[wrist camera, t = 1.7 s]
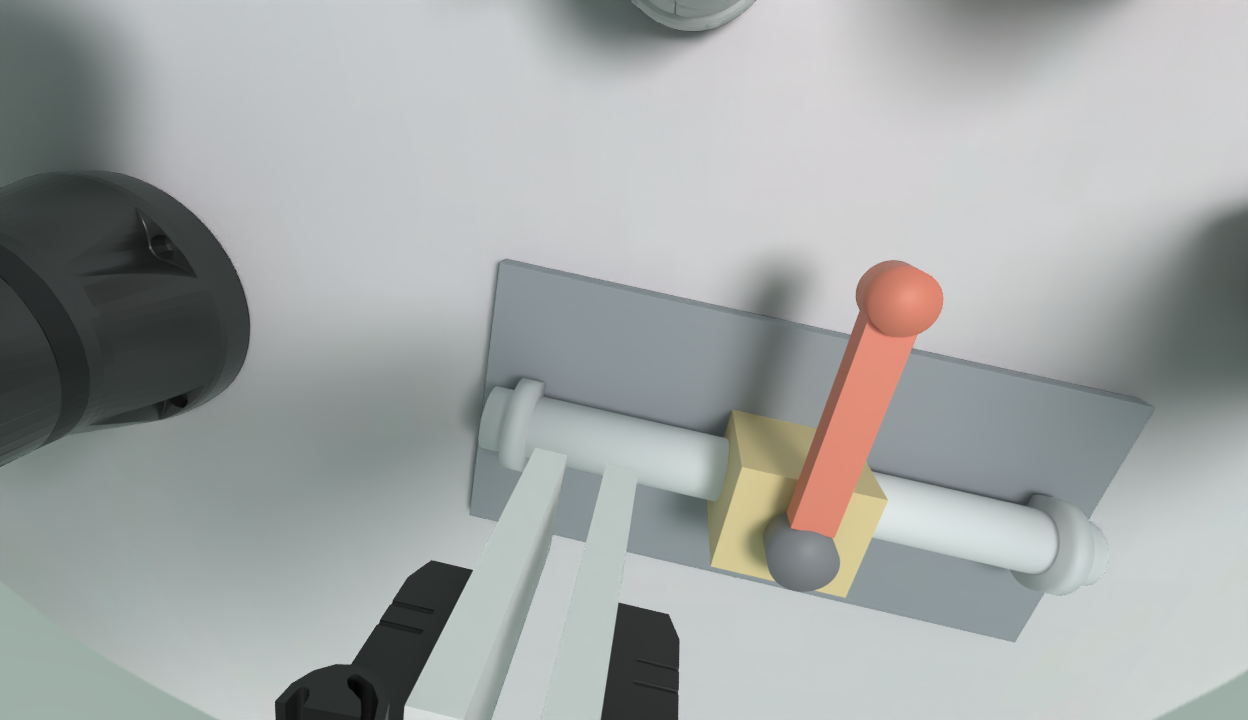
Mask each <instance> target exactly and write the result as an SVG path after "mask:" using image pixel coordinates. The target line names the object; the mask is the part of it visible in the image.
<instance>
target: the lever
mask: <svg viewBox="0 0 1248 720" xmlns="http://www.w3.org/2000/svg"><path fill="white" fill-rule="evenodd" d="M856 302H857V305H858V307H859V309H860V312H859V314H858V317H857V320H856V323H855V325H854V328H853V331H852V334H851V336H850V339H849V342H848V345H847V347H846V350H845V353H844V356H843V358H842V361H841V364H840V367H839V369H838V372H837V375H836V378H835V380H834V383H833V386H832V389H831V391H830V394H829V397H828V400H827V402H826V405H825V408H824V411H823V414H822V416H821V419H820V422H819V425H818V427H817V430H816V433H815V436H814V438H813V441H812V444H811V447H810V449H809V452H808V455H807V458H806V460H805V463H804V466H803V469H802V471H801V474H800V477H799V480H798V482H797V485H796V488H795V491H794V493H793V496H792V499H791V502H790V504H789V507H788V510H787V512H786V513H783V514H780V515H778V516H777V517H775V518H774V519H773V520H771V521H770V523H769V524H768V525H767V527H766V528H765V531H764V534H763V543H764V548H765V554H766V559H767V564H768V569H769V572H770V574H771V576H772V578H773V579H774V580H775V581H776V582H777V583H778V584H779V585H781V586H783V587H784V588H787V589H789V590H793V591H798V592H808V591H814V590H817V589H820V588H822V587H824V586H826V585H828V584H829V583H830V582H831V581H832V580H833V579H834V578H835V577H836V575H837V573H838V571H839V568H840V557H839V554H838V551H837V549H836V546H835V543H834V541H833V538H835V536H836V533H837V531H838V528H839V526H840V523H841V521H842V519H843V516H844V514H845V511H846V509H847V506H848V504H849V501H850V499H851V496H852V494H853V492H854V489H855V487H856V484H857V482H858V479H859V477H860V474H861V472H862V470H863V467H864V465H865V462H866V460H867V457H868V455H869V452H870V450H871V447H872V445H873V443H874V440H875V438H876V435H877V433H878V430H879V428H880V425H881V423H882V420H883V418H884V416H885V413H886V411H887V408H888V406H889V403H890V401H891V398H892V396H893V394H894V391H895V389H896V386H897V384H898V381H899V379H900V376H901V374H902V371H903V369H904V367H905V364H906V362H907V359H908V357H909V354H910V352H911V349H912V347H913V344H914V342H915V340H916V337H917V335H918V334H919V333H922V332H923V331H925V330H926V329H928V328H929V327H930V326H931V325H932V324H933V323H934V322H935V321H936V319H937V318H938V316H939V314H940V312H941V310H942V306H943V293H942V290H941V287H940V285H939V284H938V282H937V281H936V280H935V279H934V278H933V277H932V276H930V275H928V274H927V273H925V272H923V271H921V270H919V269H917V268H915V267H913V266H911V265H910V264H907V263H905V262H902V261H896V260H891V261H885V262H881V263H879V264H877V265H875V266H873V267H871V268H870V269H869V270H868V271H867V272H866V273H865V274H864V275H863V276H862V278H861V279H860V281H859V283H858V285H857V289H856Z"/></svg>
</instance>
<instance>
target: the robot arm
mask: <svg viewBox="0 0 1248 720" xmlns="http://www.w3.org/2000/svg"><path fill="white" fill-rule="evenodd" d="M248 340H249V318H248V310H247V305H246V300H245V296H244V293H243V290H242V287H241V284H240V281H239V279H238V276H237V274H236V272H235V270H234V268H233V266H232V264H231V262H230V260H229V258H228V257H227V255H226V253H225V252H224V250H223V249H222V247H221V246H220V244H219V243H218V242H217V240H216V239H215V238H214V236H213V235H212V234H211V233H210V231H209V230H208V229H207V228H206V227H205V226H204V225H203V224H202V223H201V221H200V220H199V219H198V218H197V217H195V216H194V215H193V214H192V213H191V212H190V211H189V210H188V209H187V208H185V207H184V206H183V205H182V204H180V203H179V202H178V201H176V200H175V199H174V198H172V197H171V196H169V195H168V194H166V193H165V192H163V191H161V190H159V189H158V188H156V187H154V186H152V185H150V184H148V183H146V182H143V181H141V180H138V179H136V178H133V177H130V176H127V175H123V174H119V173H114V172H108V171H68V172H51V173H45V174H39V175H35V176H31V177H27V178H25V179H22V180H19V181H17V182H14V183H12V184H10V185H7V186H5V187H2V188H0V467H1V466H3V465H5V464H7V463H9V462H11V461H13V460H15V459H17V458H19V457H22V456H24V455H26V454H28V453H30V452H31V451H33V450H35V449H38V448H40V447H42V446H44V445H46V444H49V443H51V442H53V441H55V440H58V439H60V438H62V437H64V436H67V435H71V434H77V433H83V432H89V431H95V430H102V429H108V428H114V427H120V426H127V425H133V424H139V423H146V422H152V421H158V420H163V419H167V418H171V417H174V416H177V415H179V414H182V413H184V412H186V411H189V410H191V409H192V408H194V407H196V406H198V405H200V404H202V403H204V402H206V401H208V400H210V399H212V398H213V397H215V396H216V395H218V394H219V393H221V392H222V391H223V390H224V389H225V388H226V387H228V385H229V384H230V383H231V382H232V381H233V380H234V378H235V377H236V375H237V374H238V372H239V370H240V368H241V366H242V364H243V361H244V358H245V355H246V351H247V347H248ZM566 459H567V455H565V454H561V453H556V452H552V451H547V450H543V449H539V448H535V450H534V452H533V453H532V455H531V457H530V459H529V461H528V463H527V465H526V467H525V469H524V471H523V473H522V475H521V477H520V479H519V481H518V483H517V485H516V487H515V489H514V491H513V493H512V495H511V497H510V499H509V501H508V503H507V505H506V507H505V509H504V511H503V513H502V515H501V517H500V519H499V521H498V523H497V524H496V526H495V528H494V530H493V532H492V534H491V536H490V538H489V540H488V542H487V544H486V546H485V548H484V550H483V552H482V554H481V556H480V558H479V560H478V562H477V564H476V566H475V568H474V570H471V569H466V568H462V567H458V566H454V565H449V564H445V563H441V562H437V561H432V560H431V561H430V562H428V563H427V564H425V565H424V566H423V567H421V568H420V569H419V570H417V571H416V572H414V573H413V574H412V575H410V576H409V577H408V578H407V579H406V581H405V582H404V584H403V585H402V587H401V588H400V590H399V592H398V593H397V595H396V596H395V598H394V599H393V602H392V604H391V605H389V607H388V608H387V610H386V612H385V613H384V615H383V616H382V618H381V619H380V623H379V624H378V625H376V627H375V628H374V630H373V632H372V633H371V635H370V636H369V638H368V639H367V641H366V642H365V644H364V645H363V647H362V648H361V650H360V651H359V653H358V655H357V656H356V658H355V659H354V661H353V662H352V664H351V665H343V664H335V665H331V666H328V667H324V668H321V669H317V670H314V671H312V672H310V673H308V674H307V675H305V676H303V677H302V678H300V679H298V680H297V681H295V682H293V683H292V684H291V685H290V686H289V687H288V688H287V689H286V690H285V691H284V692H283V693H282V694H281V695H280V697H279V698H278V699H277V700H276V701H275V714H276V720H491V719H492V716H493V713H494V710H495V707H496V704H497V701H498V698H499V695H500V692H501V690H502V687H503V684H504V681H505V678H506V675H507V672H508V669H509V666H510V663H511V660H512V658H513V655H514V652H515V649H516V646H517V643H518V640H519V637H520V634H521V631H522V628H523V626H524V623H525V620H526V617H527V614H528V611H529V608H530V605H531V602H532V599H533V596H534V593H535V591H536V588H537V585H538V582H539V579H540V576H541V573H542V570H543V567H544V564H545V561H546V559H547V556H548V553H549V550H550V545H551V540H552V535H553V529H554V524H555V518H556V513H557V508H558V502H559V497H560V492H561V486H562V481H563V475H564V470H565V465H566ZM637 477H638V471H635V470H630V469H626V468H622V467H617V466H613V465H609V464H606V467H605V471H604V475H603V479H602V483H601V486H600V490H599V494H598V498H597V502H596V506H595V510H594V514H593V518H592V521H591V525H590V529H589V533H588V537H587V541H586V545H585V549H584V553H583V556H582V560H581V564H580V568H579V572H578V576H577V580H576V584H575V588H574V591H573V595H572V599H571V603H570V607H569V611H568V615H567V619H566V623H565V626H564V630H563V634H562V638H561V642H560V646H559V650H558V654H557V657H556V661H555V665H554V669H553V673H552V677H551V681H550V685H549V689H548V692H547V696H546V700H545V704H544V708H543V712H542V716H541V720H678V697H679V695H678V690H679V672H678V669H679V638H678V635H677V633H676V630H675V628H674V626H673V623H672V621H671V619H670V616H669V614H665V613H660V612H656V611H652V610H648V609H643V608H639V607H635V606H631V605H627V604H622V603H618V602H619V595H620V589H621V582H622V576H623V569H624V563H625V556H626V549H627V543H628V536H629V530H630V523H631V517H632V510H633V503H634V497H635V490H636V484H637Z"/></svg>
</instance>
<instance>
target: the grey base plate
mask: <svg viewBox="0 0 1248 720" xmlns="http://www.w3.org/2000/svg"><path fill="white" fill-rule="evenodd" d="M850 336H851V335H849V334H845V333H840V332H836V331H831V330H827V329H822V328H818V327H813V326H808V325H804V324H799V323H795V322H790V321H786V320H781V319H777V318H772V317H768V316H763V315H759V314H754V313H750V312H745V311H740V310H736V309H731V308H727V307H722V306H718V305H713V304H709V303H704V302H700V301H695V300H691V299H686V298H681V297H677V296H672V295H668V294H663V293H659V292H654V291H650V290H645V289H641V288H636V287H632V286H627V285H623V284H618V283H613V282H609V281H604V280H600V279H595V278H591V277H586V276H582V275H577V274H573V273H568V272H564V271H559V270H555V269H550V268H545V267H541V266H536V265H532V264H527V263H523V262H518V261H514V260H509V259H505V260H503V261H502V262H500V265H499V273H498V281H497V290H496V298H495V306H494V315H493V323H492V331H491V340H490V348H489V357H488V365H487V373H486V382H485V390H484V398H483V407H482V415H481V423H480V428H479V440H478V448H477V457H476V465H475V474H474V482H473V490H472V499H471V507H470V515H472V516H476V517H480V518H484V519H489V520H493V521H497V522H498V521H499V519H500V517H501V515H502V513H503V511H504V509H505V507H506V505H507V503H508V501H509V499H510V497H511V495H512V493H513V491H514V489H515V487H516V485H517V483H518V481H519V479H520V477H521V475H522V473H523V471H524V469H525V467H526V465H527V463H528V461H529V459H530V457H531V455H532V453H533V452H534V450H535V448H539V449H543V450H547V451H552V452H556V453H561V454H565V455H567V459H566V465H565V470H564V475H563V481H562V486H561V492H560V497H559V502H558V508H557V513H556V518H555V524H554V529H553V535H557V536H562V537H566V538H570V539H574V540H579V541H583V542H586V541H587V537H588V533H589V529H590V525H591V521H592V518H593V514H594V510H595V506H596V502H597V498H598V494H599V490H600V486H601V483H602V479H603V475H604V471H605V467H606V464H609V465H613V466H617V467H622V468H626V469H630V470H635V471H638V477H637V484H636V490H635V497H634V503H633V510H632V517H631V523H630V530H629V536H628V543H627V549H626V552H630V553H634V554H639V555H643V556H647V557H651V558H656V559H660V560H664V561H669V562H673V563H677V564H681V565H686V566H690V567H694V568H699V569H703V570H707V571H711V572H716V573H720V574H724V575H729V576H733V577H737V578H741V579H746V580H750V581H754V582H759V583H763V584H767V585H771V586H776V587H780V588H784V587H783V586H781V585H779V584H778V583H777V582H776V581H775V580H774V579H773V578H772V576H771V574H770V572H769V569H768V564H767V559H766V554H765V548H764V543H763V534H764V531H765V528H766V527H767V525H768V524H769V523H770V521H771V520H773V519H774V518H775V517H777V516H778V515H780V514H783V513H786V512H787V510H788V507H789V504H790V502H791V499H792V496H793V493H794V491H795V488H796V485H797V482H798V480H799V477H800V474H801V471H802V469H803V466H804V463H805V460H806V458H807V455H808V452H809V449H810V447H811V444H812V441H813V438H814V436H815V433H816V430H817V427H818V425H819V422H820V419H821V416H822V414H823V411H824V408H825V405H826V402H827V400H828V397H829V394H830V391H831V389H832V386H833V383H834V380H835V378H836V375H837V372H838V369H839V367H840V364H841V361H842V358H843V356H844V353H845V350H846V347H847V345H848V342H849V339H850ZM1154 409H1155V407H1153V406H1152V405H1150V404H1148V403H1146V402H1145V401H1143V400H1141V399H1139V398H1135V397H1130V396H1126V395H1121V394H1117V393H1112V392H1108V391H1103V390H1099V389H1094V388H1090V387H1085V386H1081V385H1076V384H1071V383H1067V382H1062V381H1058V380H1053V379H1049V378H1044V377H1040V376H1035V375H1031V374H1026V373H1022V372H1017V371H1013V370H1008V369H1003V368H999V367H994V366H990V365H985V364H981V363H976V362H972V361H967V360H963V359H958V358H954V357H949V356H944V355H940V354H935V353H931V352H926V351H922V350H917V349H913V348H912V349H911V352H910V354H909V357H908V359H907V362H906V364H905V367H904V369H903V371H902V374H901V376H900V379H899V381H898V384H897V386H896V389H895V391H894V394H893V396H892V398H891V401H890V403H889V406H888V408H887V411H886V413H885V416H884V418H883V420H882V423H881V425H880V428H879V430H878V433H877V435H876V438H875V440H874V443H873V445H872V447H871V450H870V452H869V455H868V457H867V460H866V462H865V465H864V467H863V470H862V472H861V474H860V477H859V479H858V482H857V484H856V487H855V489H854V492H853V494H852V496H851V499H850V501H849V504H848V506H847V509H846V511H845V514H844V516H843V519H842V521H841V523H840V526H839V528H838V531H837V533H836V536H835V538H833V541H834V543H835V546H836V549H837V551H838V554H839V557H840V568H839V571H838V573H837V575H836V577H835V578H834V579H833V580H832V581H831V582H830V583H829V584H828V585H826V586H824V587H822V588H820V589H817V590H814V591H808V592H801V593H806V594H810V595H814V596H818V597H823V598H827V599H831V600H836V601H840V602H844V603H848V604H853V605H857V606H861V607H866V608H870V609H874V610H878V611H883V612H887V613H891V614H896V615H900V616H904V617H908V618H913V619H917V620H921V621H926V622H930V623H934V624H938V625H943V626H947V627H951V628H955V629H960V630H964V631H968V632H973V633H977V634H981V635H985V636H990V637H994V638H998V639H1003V640H1007V641H1011V642H1015V641H1016V640H1017V638H1018V636H1019V635H1020V633H1021V631H1022V630H1023V628H1024V626H1025V625H1026V623H1027V621H1028V620H1029V618H1030V616H1031V615H1032V613H1033V611H1034V610H1035V608H1036V606H1037V605H1038V603H1039V601H1040V600H1041V598H1042V596H1043V595H1044V593H1049V594H1053V595H1060V596H1061V595H1067V594H1070V593H1072V592H1074V591H1076V590H1077V589H1078V588H1080V587H1081V586H1088V585H1092V584H1094V583H1095V582H1097V581H1098V580H1099V579H1100V578H1101V577H1102V575H1103V574H1104V572H1105V570H1106V568H1107V564H1108V559H1109V550H1108V544H1107V540H1106V538H1105V536H1104V534H1103V532H1102V531H1101V529H1100V528H1099V527H1098V526H1097V525H1096V524H1094V523H1093V522H1091V521H1088V519H1089V518H1090V516H1091V514H1092V513H1093V511H1094V509H1095V508H1096V506H1097V504H1098V503H1099V501H1100V499H1101V498H1102V496H1103V494H1104V493H1105V491H1106V489H1107V488H1108V486H1109V484H1110V483H1111V481H1112V479H1113V478H1114V476H1115V474H1116V473H1117V471H1118V469H1119V468H1120V466H1121V464H1122V463H1123V461H1124V459H1125V458H1126V456H1127V454H1128V453H1129V451H1130V449H1131V448H1132V446H1133V444H1134V443H1135V441H1136V439H1137V438H1138V436H1139V434H1140V432H1141V431H1142V429H1143V427H1144V426H1145V424H1146V422H1147V421H1148V419H1149V417H1150V416H1151V414H1152V412H1153V411H1154ZM784 589H787V588H784ZM788 590H789V589H788ZM797 592H798V591H797Z"/></svg>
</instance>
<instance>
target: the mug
mask: <svg viewBox="0 0 1248 720" xmlns="http://www.w3.org/2000/svg"><path fill="white" fill-rule="evenodd" d="M631 1H632V2H633V4H634V5H636V6H637V7H638V8H640V9H641V10H642V11H643V12H644V13H645V14H646V15H648V16H649V17H650V18H652V19H653V20H655V21H656V22H658V23H661V24H663V25H665V26H667V27H670V28H673V29H678V30H684V31H701V30H707V29H714V28H717V27H719V26H721V25H723V24H725V23H728V22H729V21H731V20H733V19H735V18H736V17H738V16H739V15H741V14H742V13H743V12H745V11H746V10H747V9H748V8H749V7H750V6H751V5H752V4H753V3H754V2H755V1H756V0H631Z"/></svg>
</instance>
